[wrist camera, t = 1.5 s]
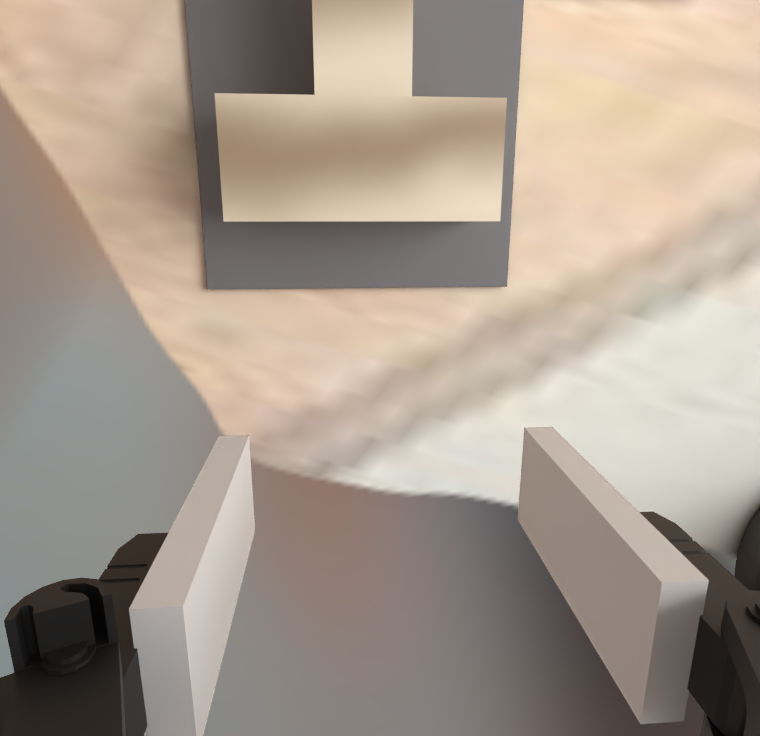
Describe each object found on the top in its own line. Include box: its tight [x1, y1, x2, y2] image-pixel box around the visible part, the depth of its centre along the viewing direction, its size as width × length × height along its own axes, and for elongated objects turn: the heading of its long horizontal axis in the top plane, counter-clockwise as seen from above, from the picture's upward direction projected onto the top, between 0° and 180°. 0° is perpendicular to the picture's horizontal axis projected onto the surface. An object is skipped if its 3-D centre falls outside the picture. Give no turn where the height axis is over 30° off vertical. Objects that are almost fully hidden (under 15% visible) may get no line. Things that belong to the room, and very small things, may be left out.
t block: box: [215, 0, 507, 222], centre depth 25 cm, size 13×12×5 cm
